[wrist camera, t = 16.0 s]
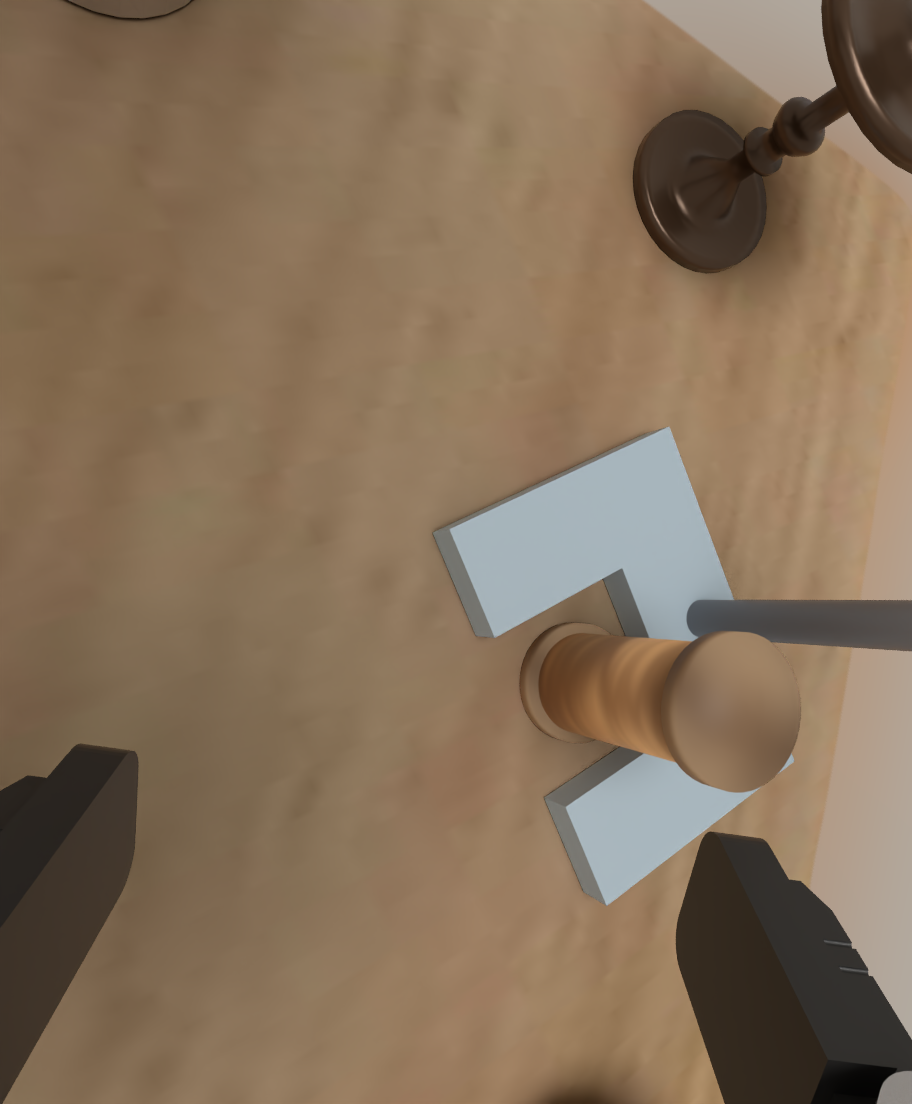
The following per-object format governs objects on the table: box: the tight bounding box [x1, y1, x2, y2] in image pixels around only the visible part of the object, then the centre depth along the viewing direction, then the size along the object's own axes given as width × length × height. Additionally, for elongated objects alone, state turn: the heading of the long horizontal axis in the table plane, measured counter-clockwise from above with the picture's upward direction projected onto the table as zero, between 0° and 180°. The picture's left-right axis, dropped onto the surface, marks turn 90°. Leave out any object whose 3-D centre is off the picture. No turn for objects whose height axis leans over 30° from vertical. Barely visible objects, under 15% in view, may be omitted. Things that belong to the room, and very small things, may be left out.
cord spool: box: [520, 623, 801, 793], centre depth 35 cm, size 6×6×12 cm
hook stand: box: [432, 427, 912, 906], centre depth 28 cm, size 20×14×30 cm
